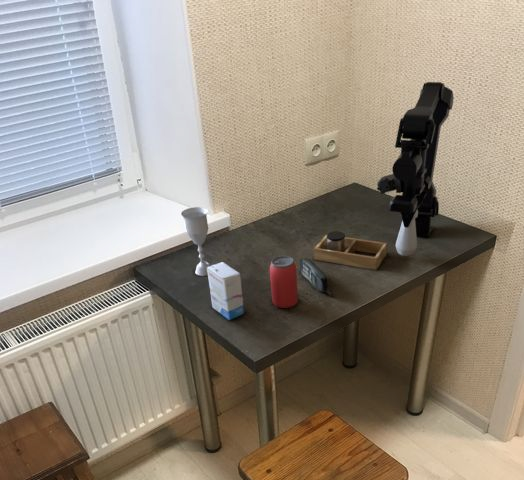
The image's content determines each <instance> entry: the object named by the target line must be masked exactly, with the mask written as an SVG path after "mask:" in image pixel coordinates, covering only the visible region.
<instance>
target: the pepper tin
mask: <svg viewBox="0 0 524 480" xmlns="http://www.w3.org/2000/svg"><path fill="white" fill-rule="evenodd" d="M345 237H346V233H344V232H343V231H340V230H334V231H330V232H328V233H327V248H326V250H333V251H339V252H345V251H346V249H345Z"/></svg>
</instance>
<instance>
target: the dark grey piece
mask: <svg viewBox="0 0 524 480" xmlns="http://www.w3.org/2000/svg"><path fill="white" fill-rule="evenodd" d="M299 271H300V274H301V275H302V276H303V277H304V278H305V279H306V280H307V281H308V282H309V283H310V284H311V285H312V286H313V288H314V289H315V290H317V291H319V292H321V293H324V292H325V293H327V294H328V295H329V296H332V295H333V292H331V291H330V290H329V278H328V276H327V275H326V274H325V272H324V271H323V270H322V269H321V268H320V267H319V266H318V265H317V264H316V263H315V262H314V261H313V260H311V259H310V258H307V257H302V258H300V259H299Z"/></svg>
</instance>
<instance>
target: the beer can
mask: <svg viewBox="0 0 524 480" xmlns="http://www.w3.org/2000/svg"><path fill="white" fill-rule="evenodd" d="M270 261H271V262H270V266H269V277H270V289H271V290H270V291H271V301H272V304H273V306H275V307H277V308H281V309H288V308H292V307H293V306H295V305H296V304H297V303H298V301H299V300H298V299H299V297H298V296H299V295H298V277H297V276H298V275H297V266H296V265H297V264H296V263H295V260H294V258H293V257H291V256H288V255H279V256H275V257H273V258H272V259H271V260H270Z"/></svg>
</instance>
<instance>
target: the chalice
mask: <svg viewBox="0 0 524 480" xmlns="http://www.w3.org/2000/svg"><path fill="white" fill-rule="evenodd" d="M208 211H209V210H208V209H207V208H204V207H200V206H195V207H189V208H186V209H183V210H182V211H181V213H180V215H181V216H182V218H183V222H184V227H185V232H186V234H187V235H188V237H189V238H190V241H192V242H193V244H194V245H197V246H198V247H197V252H198V253H199V255H198V258H199V260H200V262H199V263H197V264H196V268H195V274H196V275H197V276H201V277H203V276H208V272H207V268H208V267H209V266H211V265H210V263H208V262H207V261H206V260H205V257H206V255H205V254H204V248H203V247H202V246H203V244H205V242H206V239H207V237H208V232H209V224H208V216H207V215H208Z"/></svg>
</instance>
